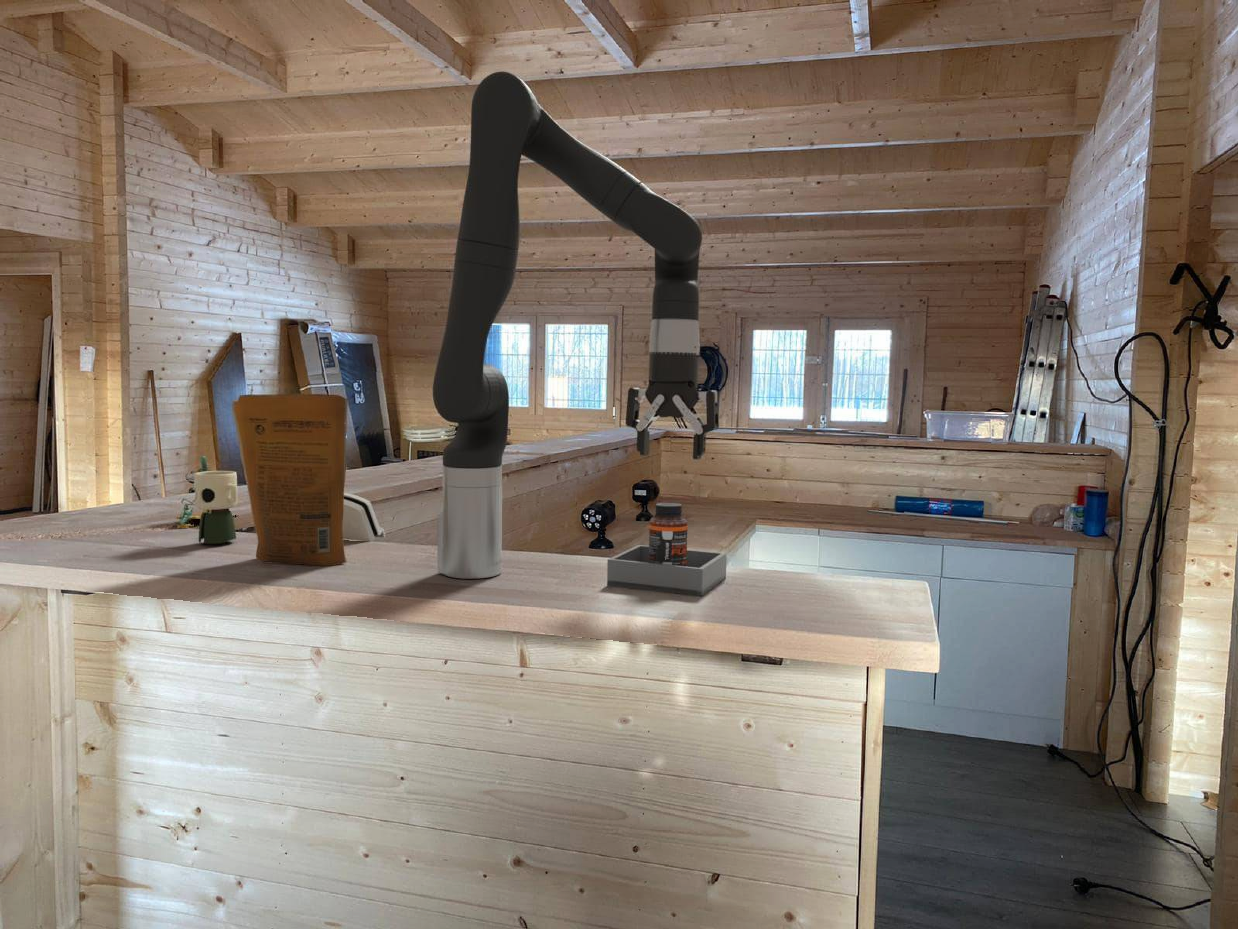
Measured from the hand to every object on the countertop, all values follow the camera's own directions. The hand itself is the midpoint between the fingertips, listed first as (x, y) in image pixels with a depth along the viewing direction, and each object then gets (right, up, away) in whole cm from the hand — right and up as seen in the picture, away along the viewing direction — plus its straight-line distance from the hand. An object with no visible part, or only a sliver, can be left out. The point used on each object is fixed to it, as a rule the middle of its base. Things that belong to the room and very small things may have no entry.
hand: (670, 457), depth 135 cm
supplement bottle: (0, -19, +2) cm, 19 cm away
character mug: (-81, -16, +26) cm, 87 cm away
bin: (0, -19, +2) cm, 19 cm away
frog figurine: (-95, -13, +48) cm, 107 cm away
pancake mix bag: (-61, -18, +11) cm, 65 cm away
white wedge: (-62, -15, +34) cm, 72 cm away
